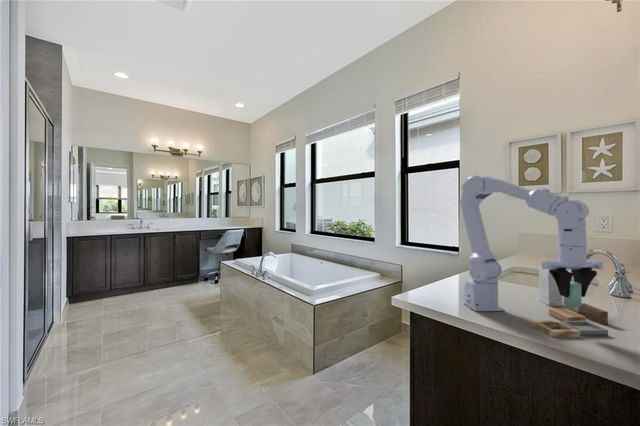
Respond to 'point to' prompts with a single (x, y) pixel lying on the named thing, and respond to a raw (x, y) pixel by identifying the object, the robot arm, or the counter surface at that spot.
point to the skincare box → (548, 289)
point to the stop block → (594, 314)
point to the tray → (587, 328)
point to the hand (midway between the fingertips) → (572, 296)
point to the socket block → (565, 332)
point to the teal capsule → (574, 296)
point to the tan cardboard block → (565, 315)
